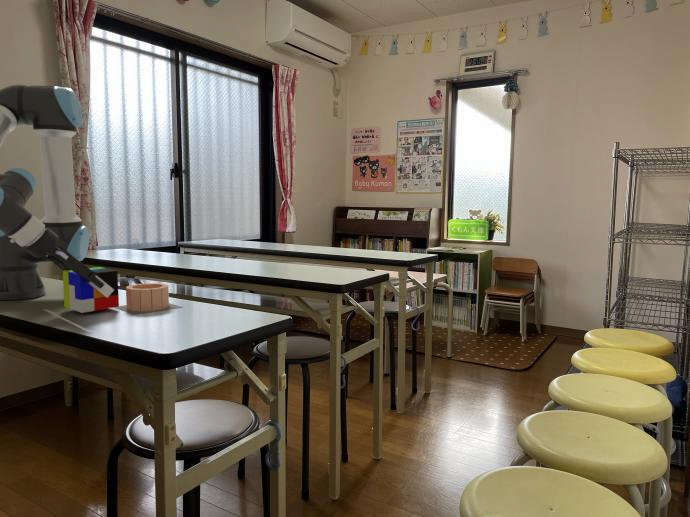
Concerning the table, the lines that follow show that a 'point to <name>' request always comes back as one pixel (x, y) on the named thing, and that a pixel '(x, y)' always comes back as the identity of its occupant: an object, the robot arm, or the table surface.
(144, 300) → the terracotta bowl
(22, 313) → the table surface
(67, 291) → the puzzle toy
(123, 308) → the rubber mat
